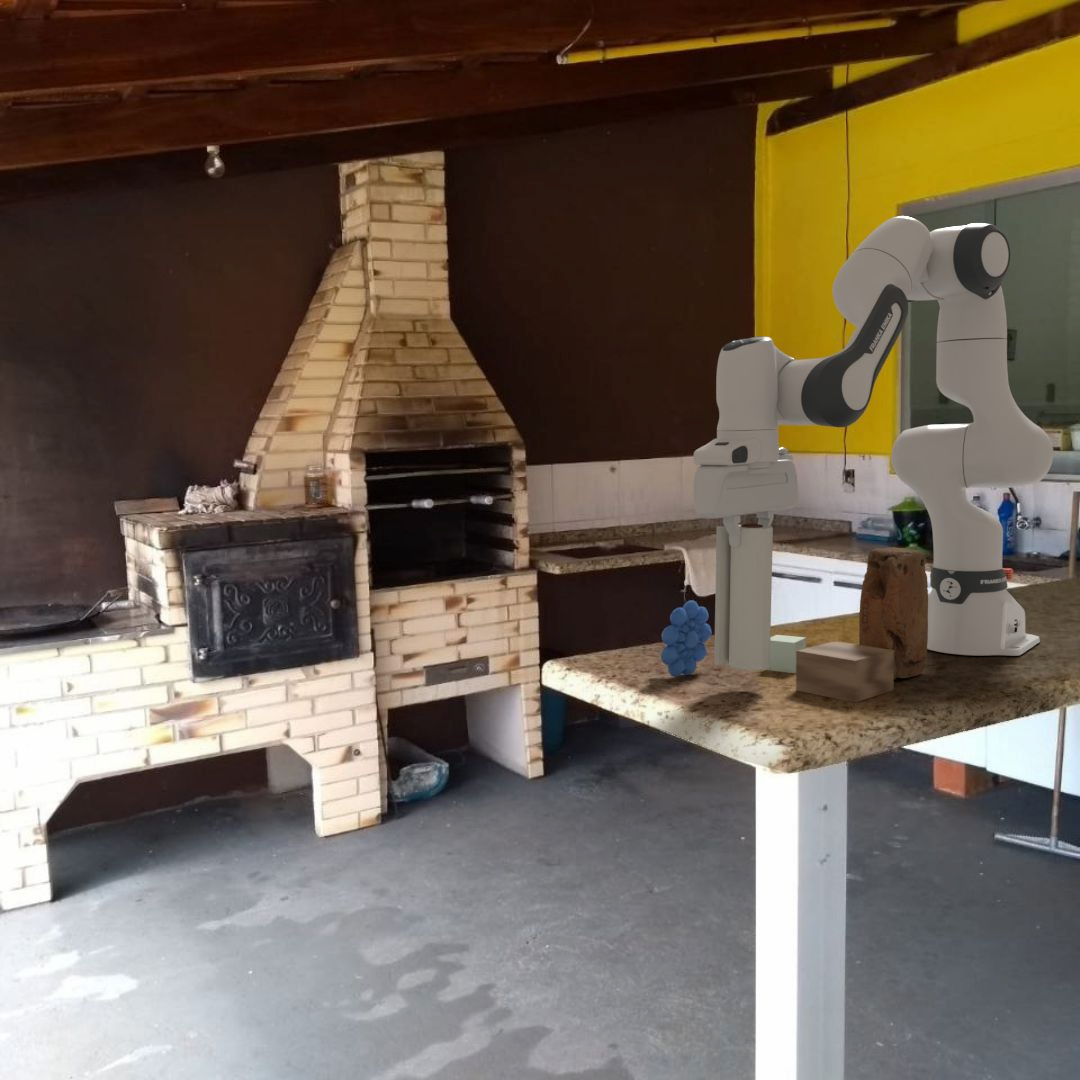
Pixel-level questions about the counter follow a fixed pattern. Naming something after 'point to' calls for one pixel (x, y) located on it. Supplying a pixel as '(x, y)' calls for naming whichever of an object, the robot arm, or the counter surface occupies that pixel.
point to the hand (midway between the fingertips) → (749, 543)
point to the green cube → (785, 652)
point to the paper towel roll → (743, 598)
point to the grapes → (685, 638)
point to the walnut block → (845, 671)
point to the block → (896, 607)
